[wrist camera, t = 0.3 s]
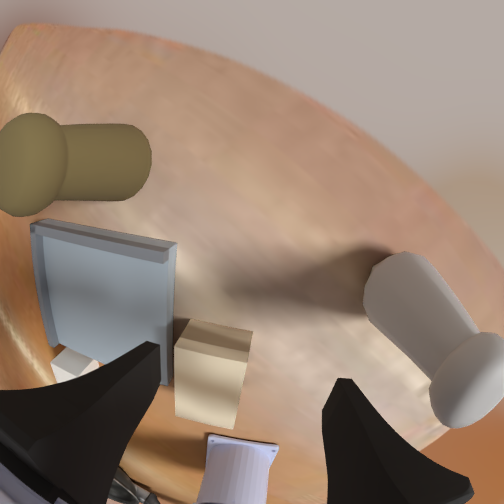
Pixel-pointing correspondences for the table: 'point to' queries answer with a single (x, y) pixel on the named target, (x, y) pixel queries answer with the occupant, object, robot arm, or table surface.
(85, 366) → the white cube
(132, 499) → the frying pan
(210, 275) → the table surface
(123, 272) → the dock
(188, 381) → the block
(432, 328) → the salt shaker
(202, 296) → the table surface
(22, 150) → the pepper shaker
